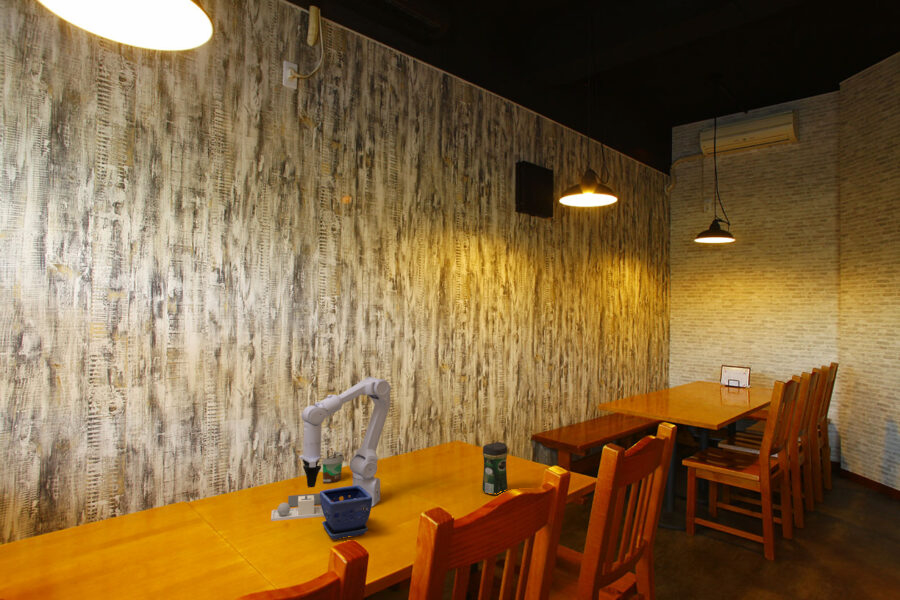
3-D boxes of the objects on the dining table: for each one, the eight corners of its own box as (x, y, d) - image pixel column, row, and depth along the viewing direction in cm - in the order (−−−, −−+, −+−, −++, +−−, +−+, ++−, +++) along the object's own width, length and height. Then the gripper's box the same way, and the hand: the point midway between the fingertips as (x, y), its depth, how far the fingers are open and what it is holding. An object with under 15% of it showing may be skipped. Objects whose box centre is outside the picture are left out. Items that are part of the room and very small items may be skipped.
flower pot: (328, 545, 150) (329, 503, 150) (317, 528, 162) (318, 489, 162) (372, 537, 156) (373, 496, 157) (359, 521, 168) (359, 484, 168)
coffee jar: (494, 486, 205) (495, 439, 206) (510, 491, 200) (511, 442, 200) (478, 492, 198) (479, 443, 199) (494, 497, 193) (495, 447, 193)
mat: (319, 495, 192) (319, 493, 192) (321, 505, 181) (321, 503, 181) (288, 497, 189) (288, 495, 189) (288, 508, 178) (288, 506, 178)
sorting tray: (337, 507, 180) (337, 504, 180) (339, 515, 172) (339, 512, 172) (271, 513, 173) (271, 510, 173) (271, 521, 166) (271, 518, 166)
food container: (336, 485, 203) (336, 460, 203) (321, 484, 204) (322, 458, 204) (348, 476, 215) (349, 452, 215) (334, 475, 216) (335, 451, 216)
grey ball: (292, 513, 172) (292, 501, 172) (285, 518, 168) (286, 505, 169) (281, 512, 173) (281, 500, 173) (274, 517, 169) (275, 504, 169)
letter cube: (313, 510, 176) (313, 494, 176) (313, 515, 171) (314, 499, 171) (297, 511, 175) (298, 496, 175) (298, 516, 170) (298, 501, 170)
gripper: (299, 438, 180) (297, 477, 179) (300, 448, 166) (298, 491, 165) (320, 437, 182) (318, 476, 181) (323, 447, 168) (321, 489, 168)
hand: (310, 483), depth 174 cm, fingers open, 7 cm apart
